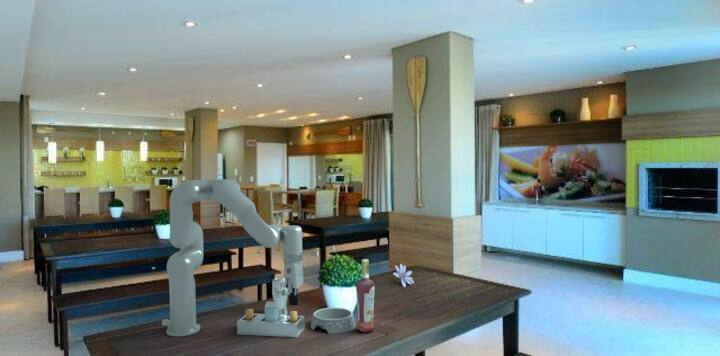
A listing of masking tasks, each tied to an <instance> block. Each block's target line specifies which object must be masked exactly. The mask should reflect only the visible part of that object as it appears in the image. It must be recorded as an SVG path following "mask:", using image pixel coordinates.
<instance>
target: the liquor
mask: <svg viewBox="0 0 720 356" xmlns="http://www.w3.org/2000/svg"><path fill="white" fill-rule="evenodd" d="M369 265H370V264H369V259H368V258H362V259H361V267H362V269H361V279H359V280H357V281H356V282H355V290H356V294H355V295H356V306H357V307H356V309H357V326H356V329H357V330H359V332H361V333H371V332H372V331H373V330H374V329H375V325H374V309H375V308H374V305H375V284H376V283H375V282H374V281H373V280H372V279H370V276H369Z"/></svg>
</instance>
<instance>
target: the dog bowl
mask: <svg viewBox="0 0 720 356" xmlns="http://www.w3.org/2000/svg"><path fill="white" fill-rule="evenodd" d="M355 321H356V320H355V317H354V313H353V311H352V310H350V309H348V308H345V307H344V308H343V307H324V308H320V309H317V310H315V311H314V312H313V313H312V318H311V323H310V328H311V330H313V331H314V330H315V328H317V327H318V328H319V329H321V330H326V331H327V333H328V334H329V335H330V334H342V333H347V332H350V331H352V330H354V329H355V327H357V326H356V322H355Z"/></svg>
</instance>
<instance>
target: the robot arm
mask: <svg viewBox="0 0 720 356" xmlns="http://www.w3.org/2000/svg"><path fill="white" fill-rule="evenodd" d="M202 201H217V202H219V204H220V205H222V206H223V207H224V208H225V209H226V210H227V211H229V212H230V213H231V214H232V215H233V216H234V217H235V218H236V219H237V220H238V221H239V223H240V224H241V226H242V227H243V229H244V230H245V231H246V232H247V234H249V236H251V238H253V239H254V240H255V241H256V242H257V243H258V244H259V245H261V246H262V247H265V248H268V249H269V248H273V247H275V246H276V245H278V244H281V243H282V262H283V263H284V272H283V273H284V277H283V278H284V283H285V288H286V289H287V288H288V296H289V297H288V300H289V301H288V304H289V306H298V305H299V288H300V287H301V286H302V285H303V284H304V270H303V229H302V227H301V226H300V225H294V224H293V225H280V224H272V225H269V224H267V222H265V221H264V220H263V218H262V217H261V216H260V215H259V214H258V212H257V209H256V204H255V203H254V202H253V201H252V200H251V199H250V198H249V197H248V196H246V195H245V194H244V193H243V192H242V191H241V186H240V184H239V183H238V182H237V181H236V180H235V179H232V178H227V179H224V178H223V179H222V178H221V179H219V178H218V179H191V180H187V181H184V182H181V183H179V184H178V185H177V186H176V187H175V188H174V189H173V190H172V191H171V194H170V196H169V241H170V244H171V245H172V246H173V247H174V248H176V249H180V250H179V251H177V252H175V253H174V254H172V255H171V256H170V257H169V258H168V260H167V262H166V271H167V277H168V286H169V289H168V290H169V318H170V319H167V318H164V319H162V322H161V326H162V327H167V328H166V330H165V331H166V335H167V336H169V337H175V338H176V337H178V338H180V337H186V336H192V335H194V334H196V333H198V332H200V330H201V325H200V324H199V323H197V309H196V308H197V305H196V303H197V302H196V296H197V295H196V280H195V277H194V271H196V270H198V269H199V267H201V266H202V264H203V261H204V232H203V228H202V227H201V225H200V224H199V223H198V222H196V221H194V211H193V207H192V204H193V203H196V202H202Z"/></svg>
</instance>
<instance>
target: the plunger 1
mask: <svg viewBox="0 0 720 356" xmlns="http://www.w3.org/2000/svg"><path fill="white" fill-rule="evenodd" d="M253 313H254V309H253V308H247V309H245V315H246V320H250V321H251V320H252V319H253Z"/></svg>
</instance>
